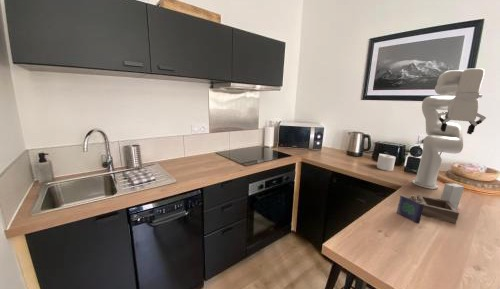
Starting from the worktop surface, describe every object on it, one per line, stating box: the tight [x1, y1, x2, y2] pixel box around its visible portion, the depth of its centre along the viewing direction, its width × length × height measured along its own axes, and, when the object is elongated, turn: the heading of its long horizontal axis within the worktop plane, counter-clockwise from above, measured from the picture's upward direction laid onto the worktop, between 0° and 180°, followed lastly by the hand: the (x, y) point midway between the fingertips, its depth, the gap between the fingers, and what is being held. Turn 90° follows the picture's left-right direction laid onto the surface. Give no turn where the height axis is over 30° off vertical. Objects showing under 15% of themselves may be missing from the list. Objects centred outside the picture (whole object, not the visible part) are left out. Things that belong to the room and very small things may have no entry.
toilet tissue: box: [376, 153, 397, 172], centre depth 159 cm, size 11×12×10 cm
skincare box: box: [440, 183, 465, 210], centre depth 103 cm, size 6×4×12 cm
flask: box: [396, 194, 424, 224], centre depth 92 cm, size 9×3×11 cm, turn 24°
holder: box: [416, 194, 460, 224], centre depth 97 cm, size 12×12×5 cm
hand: (455, 132), depth 102 cm, fingers open, 9 cm apart
